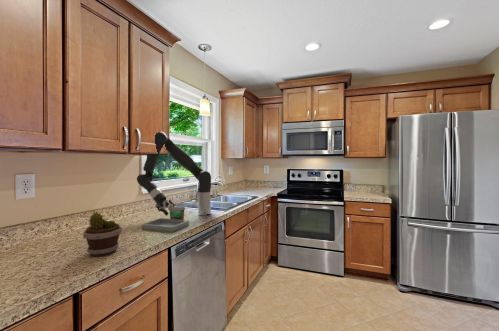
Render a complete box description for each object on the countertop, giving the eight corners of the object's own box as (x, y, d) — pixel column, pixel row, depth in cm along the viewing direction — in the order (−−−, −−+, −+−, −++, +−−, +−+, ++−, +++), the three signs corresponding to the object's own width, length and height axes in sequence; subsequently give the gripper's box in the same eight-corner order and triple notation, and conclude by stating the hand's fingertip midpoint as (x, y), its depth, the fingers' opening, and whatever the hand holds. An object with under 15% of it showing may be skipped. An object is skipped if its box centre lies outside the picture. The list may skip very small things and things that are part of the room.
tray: (160, 222, 160) (160, 218, 160) (188, 225, 152) (188, 220, 152) (142, 229, 145) (142, 224, 145) (172, 232, 137) (172, 227, 137)
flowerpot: (106, 245, 118) (105, 204, 117) (129, 249, 112) (128, 206, 112) (75, 256, 104) (74, 210, 104) (100, 261, 98) (99, 212, 98)
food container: (164, 221, 162) (164, 207, 162) (170, 219, 168) (170, 205, 168) (180, 223, 158) (179, 208, 158) (185, 220, 164) (185, 206, 164)
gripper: (153, 193, 160) (167, 211, 156) (167, 191, 173) (181, 207, 170) (147, 201, 162) (161, 219, 158) (161, 198, 175) (175, 214, 172)
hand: (171, 213), depth 164 cm, fingers open, 8 cm apart
